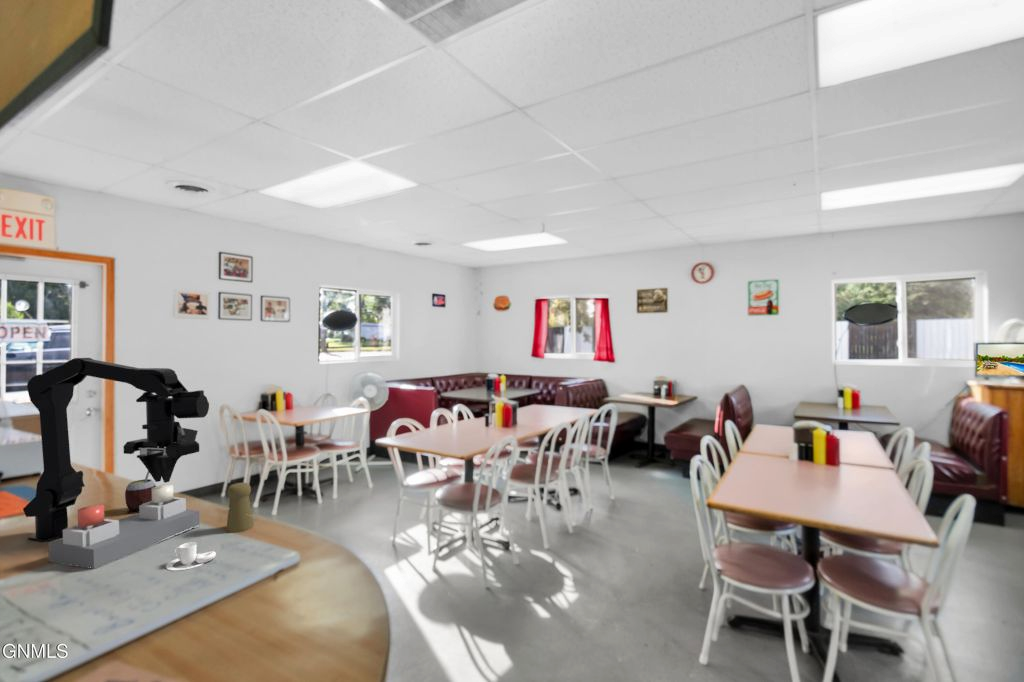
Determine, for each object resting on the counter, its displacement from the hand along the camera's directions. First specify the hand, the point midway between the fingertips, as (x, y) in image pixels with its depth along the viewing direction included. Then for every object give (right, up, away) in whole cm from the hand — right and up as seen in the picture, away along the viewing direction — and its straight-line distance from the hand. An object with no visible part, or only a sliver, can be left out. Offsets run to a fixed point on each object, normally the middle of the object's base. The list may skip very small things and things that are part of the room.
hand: (162, 481), depth 124 cm
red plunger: (-5, -5, -15) cm, 17 cm away
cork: (+19, -12, 0) cm, 23 cm away
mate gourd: (-17, -13, +16) cm, 26 cm away
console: (-2, -12, -8) cm, 14 cm away
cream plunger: (0, -5, 0) cm, 4 cm away
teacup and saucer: (+21, -12, -21) cm, 32 cm away
